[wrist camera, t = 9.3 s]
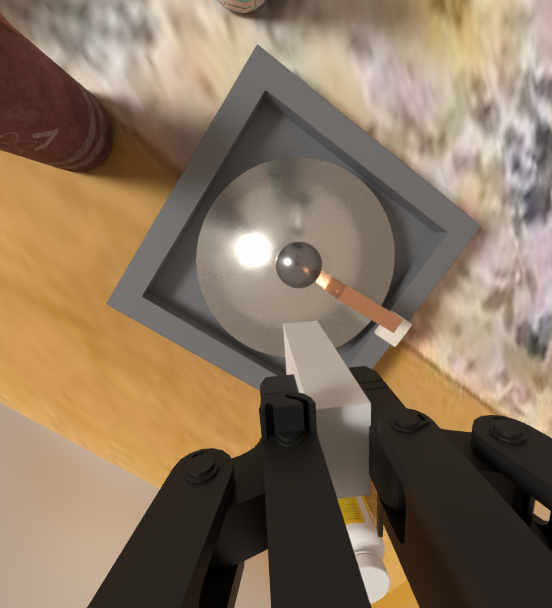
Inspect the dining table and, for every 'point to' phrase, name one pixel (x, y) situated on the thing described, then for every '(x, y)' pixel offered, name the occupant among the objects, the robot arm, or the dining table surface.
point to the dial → (296, 254)
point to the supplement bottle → (366, 545)
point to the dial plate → (252, 152)
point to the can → (47, 109)
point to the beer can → (242, 5)
